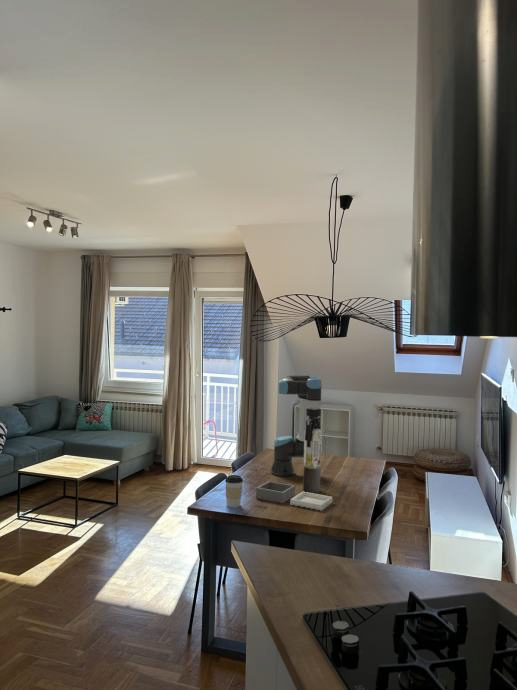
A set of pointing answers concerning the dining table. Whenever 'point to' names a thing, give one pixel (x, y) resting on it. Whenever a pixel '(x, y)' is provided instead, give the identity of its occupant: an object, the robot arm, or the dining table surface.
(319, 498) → the tray
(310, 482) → the pillar candle
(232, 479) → the coffee cup
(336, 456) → the dining table surface
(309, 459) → the juice carton
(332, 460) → the dining table surface
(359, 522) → the dining table surface
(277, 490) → the grey open box
